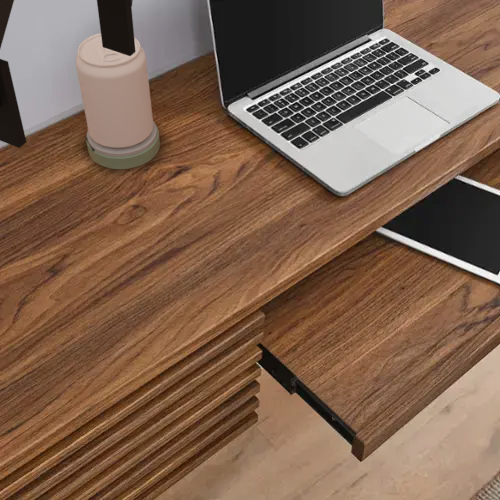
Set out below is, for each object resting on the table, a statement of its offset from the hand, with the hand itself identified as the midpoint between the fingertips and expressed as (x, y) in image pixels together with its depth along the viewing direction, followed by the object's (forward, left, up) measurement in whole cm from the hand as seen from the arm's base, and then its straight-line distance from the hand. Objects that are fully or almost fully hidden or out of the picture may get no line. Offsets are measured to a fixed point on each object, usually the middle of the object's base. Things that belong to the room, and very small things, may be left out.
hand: (67, 91), depth 58 cm
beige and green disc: (+11, +27, -28) cm, 40 cm away
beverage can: (+11, +27, -26) cm, 39 cm away
